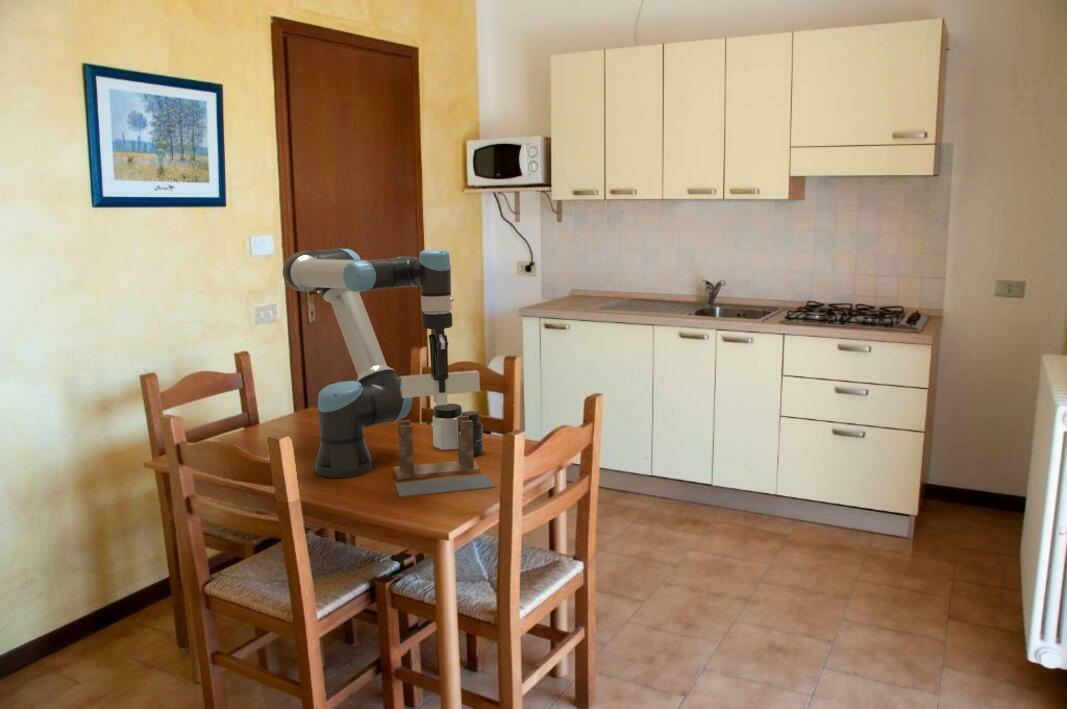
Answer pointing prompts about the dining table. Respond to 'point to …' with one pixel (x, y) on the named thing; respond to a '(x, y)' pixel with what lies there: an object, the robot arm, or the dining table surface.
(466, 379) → the rail
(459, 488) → the mat
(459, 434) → the stand
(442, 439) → the jar
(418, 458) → the dining table surface
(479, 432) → the supplement bottle
